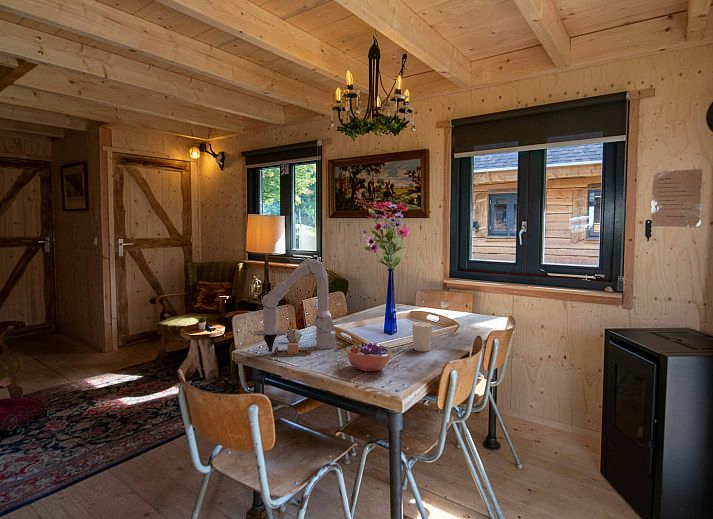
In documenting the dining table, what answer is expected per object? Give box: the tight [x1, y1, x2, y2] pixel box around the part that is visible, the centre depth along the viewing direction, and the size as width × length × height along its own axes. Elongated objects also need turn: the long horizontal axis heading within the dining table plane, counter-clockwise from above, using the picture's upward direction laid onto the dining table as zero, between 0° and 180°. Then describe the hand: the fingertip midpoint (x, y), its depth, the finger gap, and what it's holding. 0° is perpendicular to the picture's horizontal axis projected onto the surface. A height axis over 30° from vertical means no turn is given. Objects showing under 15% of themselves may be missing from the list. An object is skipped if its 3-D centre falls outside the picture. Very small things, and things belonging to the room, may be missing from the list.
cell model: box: [345, 342, 393, 372], centre depth 177 cm, size 17×20×11 cm
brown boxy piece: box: [273, 346, 312, 357], centre depth 195 cm, size 16×6×4 cm, turn 95°
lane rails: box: [273, 349, 308, 358], centre depth 195 cm, size 14×8×2 cm, turn 95°
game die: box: [284, 327, 302, 343], centre depth 216 cm, size 9×8×10 cm
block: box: [287, 342, 299, 355], centre depth 195 cm, size 4×4×4 cm
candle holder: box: [411, 321, 434, 352], centre depth 207 cm, size 10×10×12 cm
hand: (270, 351), depth 194 cm, fingers closed
